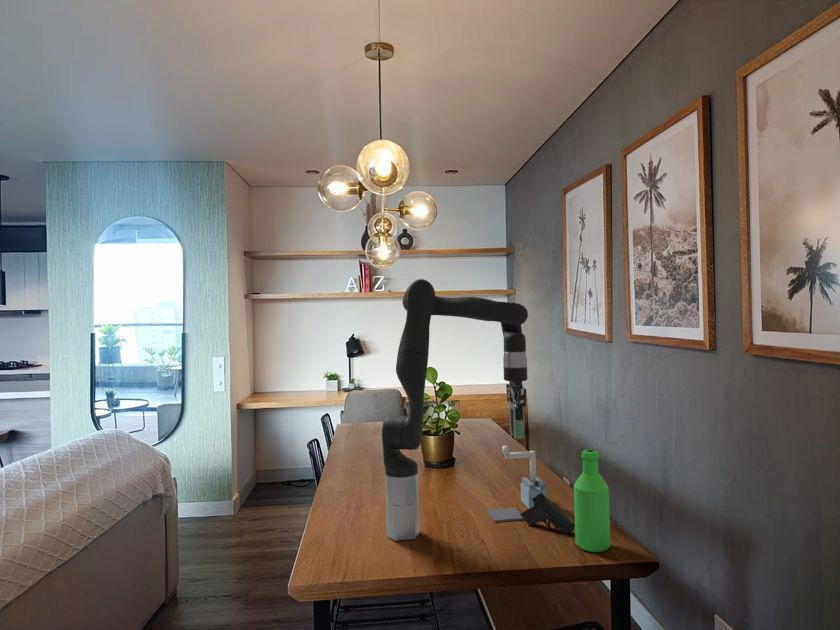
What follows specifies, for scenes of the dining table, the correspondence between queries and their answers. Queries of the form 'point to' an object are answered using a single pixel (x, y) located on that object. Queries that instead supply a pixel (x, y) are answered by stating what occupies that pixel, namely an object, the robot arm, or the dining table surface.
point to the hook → (516, 423)
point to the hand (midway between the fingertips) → (516, 418)
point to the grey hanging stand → (527, 486)
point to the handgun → (547, 515)
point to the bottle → (591, 506)
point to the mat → (504, 515)
